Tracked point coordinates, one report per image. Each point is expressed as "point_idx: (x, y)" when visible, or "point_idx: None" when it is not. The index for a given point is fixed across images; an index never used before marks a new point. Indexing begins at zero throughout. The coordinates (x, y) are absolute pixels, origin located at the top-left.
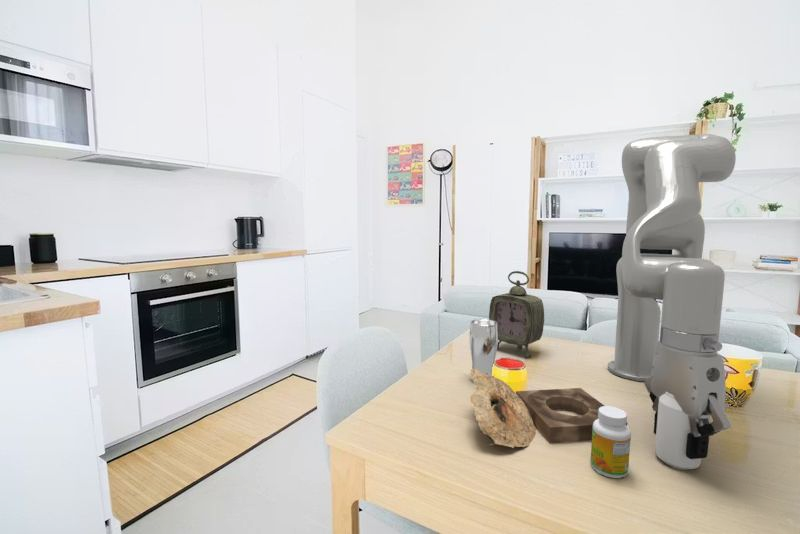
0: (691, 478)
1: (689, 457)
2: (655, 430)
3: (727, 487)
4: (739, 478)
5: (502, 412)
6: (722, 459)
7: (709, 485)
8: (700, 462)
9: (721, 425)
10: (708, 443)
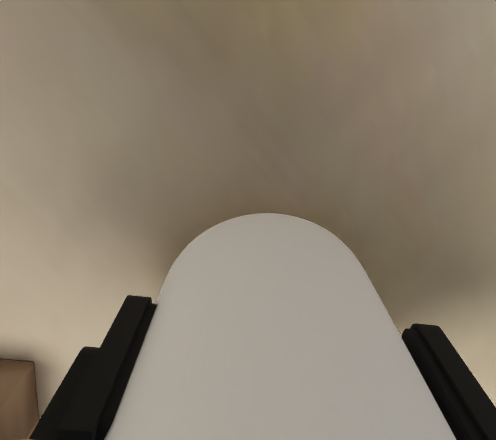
0: None
1: None
2: None
3: (492, 244)
4: (478, 108)
5: None
6: (318, 9)
7: (448, 307)
8: (359, 262)
9: None
10: (486, 395)
